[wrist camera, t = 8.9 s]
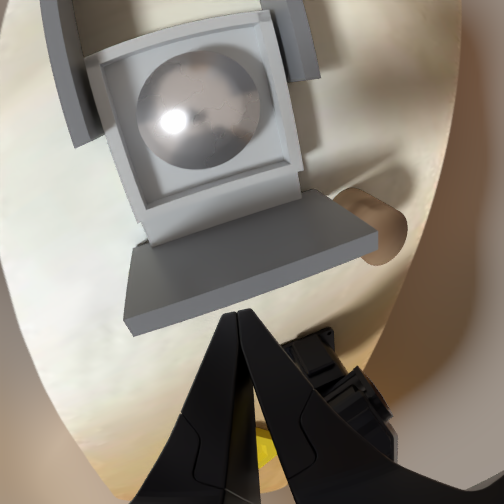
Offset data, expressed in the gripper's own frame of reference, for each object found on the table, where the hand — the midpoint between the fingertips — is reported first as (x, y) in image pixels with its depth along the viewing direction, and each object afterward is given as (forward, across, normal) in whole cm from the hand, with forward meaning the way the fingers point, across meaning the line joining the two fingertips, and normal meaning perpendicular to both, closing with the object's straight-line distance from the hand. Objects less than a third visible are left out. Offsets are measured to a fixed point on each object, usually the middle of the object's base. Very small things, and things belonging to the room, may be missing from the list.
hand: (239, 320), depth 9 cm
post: (+15, -10, +6) cm, 19 cm away
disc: (+13, +1, -4) cm, 14 cm away
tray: (+14, +1, -3) cm, 14 cm away
